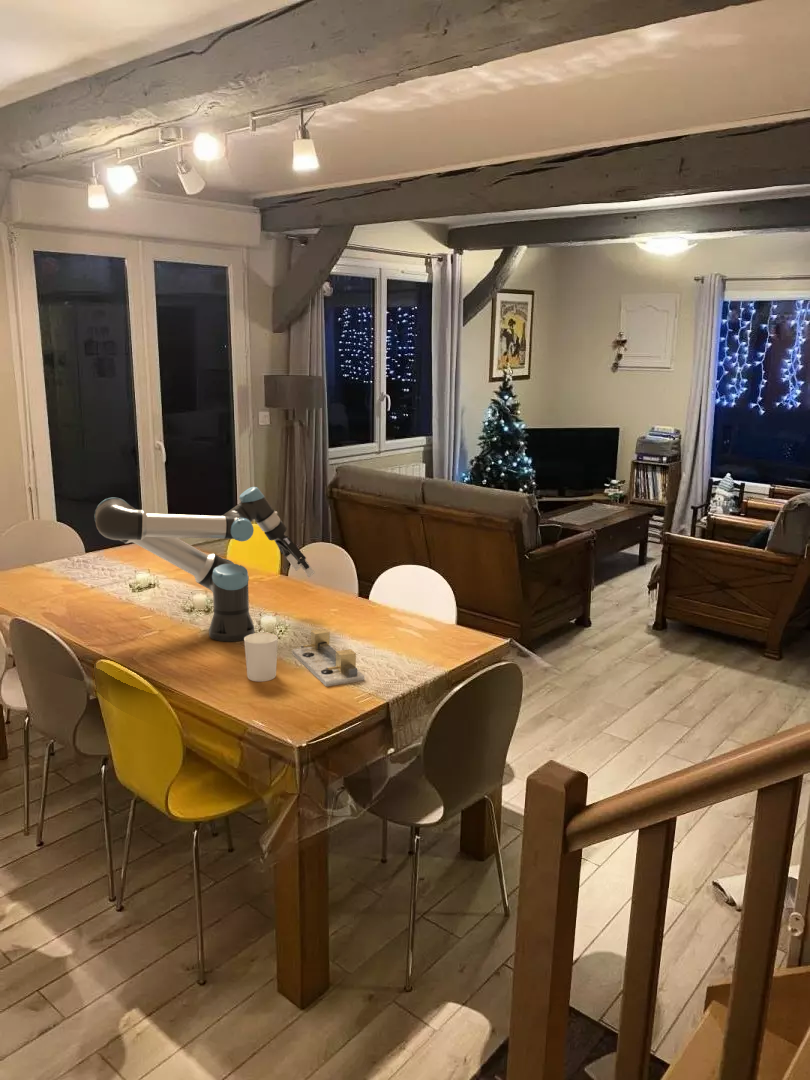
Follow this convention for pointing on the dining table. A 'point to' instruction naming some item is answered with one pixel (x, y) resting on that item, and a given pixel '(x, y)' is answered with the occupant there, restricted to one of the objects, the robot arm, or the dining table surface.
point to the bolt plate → (329, 664)
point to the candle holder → (261, 656)
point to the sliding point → (318, 638)
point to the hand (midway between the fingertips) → (305, 571)
